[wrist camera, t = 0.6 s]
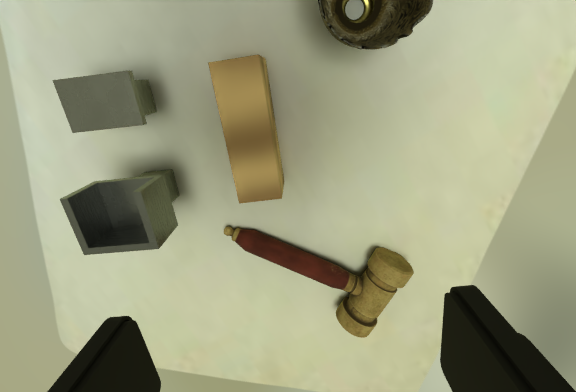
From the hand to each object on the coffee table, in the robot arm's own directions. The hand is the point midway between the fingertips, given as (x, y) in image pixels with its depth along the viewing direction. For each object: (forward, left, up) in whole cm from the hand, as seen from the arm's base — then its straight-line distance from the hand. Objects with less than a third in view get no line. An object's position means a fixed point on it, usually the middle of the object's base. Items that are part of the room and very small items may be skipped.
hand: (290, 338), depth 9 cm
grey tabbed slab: (-7, -15, -23) cm, 28 cm away
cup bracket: (+2, -15, -23) cm, 27 cm away
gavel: (+13, 0, -24) cm, 27 cm away
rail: (-3, -4, -23) cm, 24 cm away
